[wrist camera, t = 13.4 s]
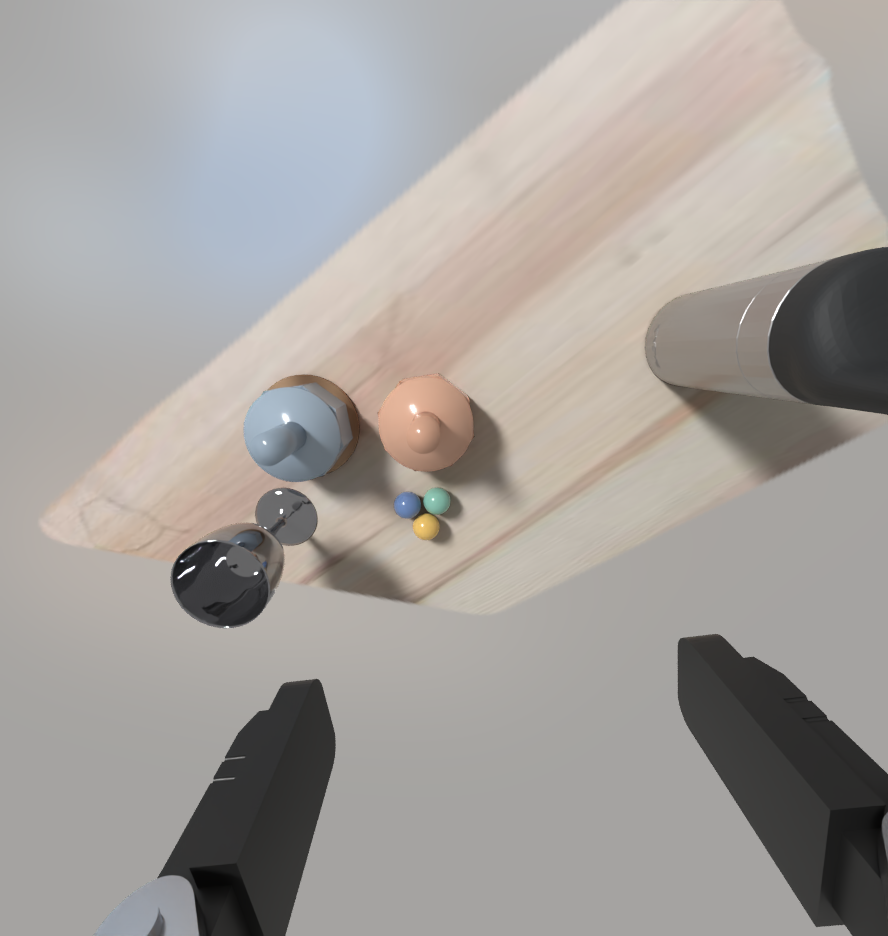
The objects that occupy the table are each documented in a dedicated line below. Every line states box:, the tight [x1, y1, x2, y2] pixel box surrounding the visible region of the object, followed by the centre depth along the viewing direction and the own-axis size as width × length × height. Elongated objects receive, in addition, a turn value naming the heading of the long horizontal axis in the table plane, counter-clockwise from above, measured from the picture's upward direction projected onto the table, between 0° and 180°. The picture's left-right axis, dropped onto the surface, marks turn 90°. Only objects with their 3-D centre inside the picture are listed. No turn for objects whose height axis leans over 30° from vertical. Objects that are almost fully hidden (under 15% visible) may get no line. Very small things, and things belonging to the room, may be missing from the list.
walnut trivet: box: [268, 375, 359, 474], centre depth 46 cm, size 11×11×1 cm
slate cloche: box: [244, 382, 353, 482], centre depth 40 cm, size 9×9×11 cm
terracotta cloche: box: [378, 373, 474, 472], centre depth 40 cm, size 9×9×11 cm
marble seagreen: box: [423, 488, 450, 515], centre depth 47 cm, size 3×3×3 cm
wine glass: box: [171, 488, 317, 628], centre depth 41 cm, size 8×8×15 cm
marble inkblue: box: [394, 492, 421, 519], centre depth 47 cm, size 3×3×3 cm
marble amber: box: [413, 513, 440, 540], centre depth 47 cm, size 3×3×3 cm
